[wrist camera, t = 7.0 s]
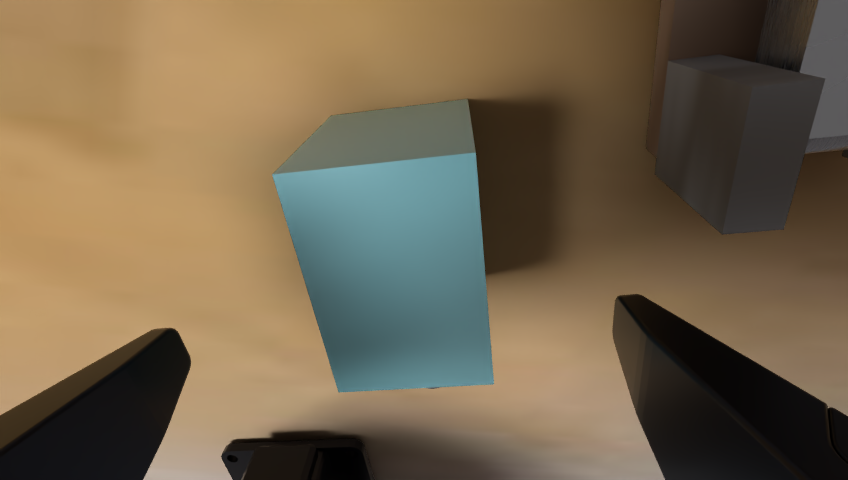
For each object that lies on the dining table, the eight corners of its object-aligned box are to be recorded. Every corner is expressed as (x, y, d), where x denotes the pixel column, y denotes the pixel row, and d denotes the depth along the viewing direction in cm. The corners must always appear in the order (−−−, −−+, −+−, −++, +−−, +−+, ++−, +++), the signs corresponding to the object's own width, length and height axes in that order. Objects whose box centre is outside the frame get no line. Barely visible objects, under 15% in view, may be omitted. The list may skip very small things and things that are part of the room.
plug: (487, 341, 17) (500, 461, 13) (384, 347, 17) (361, 466, 13) (467, 98, 13) (475, 152, 8) (331, 114, 13) (271, 174, 9)
